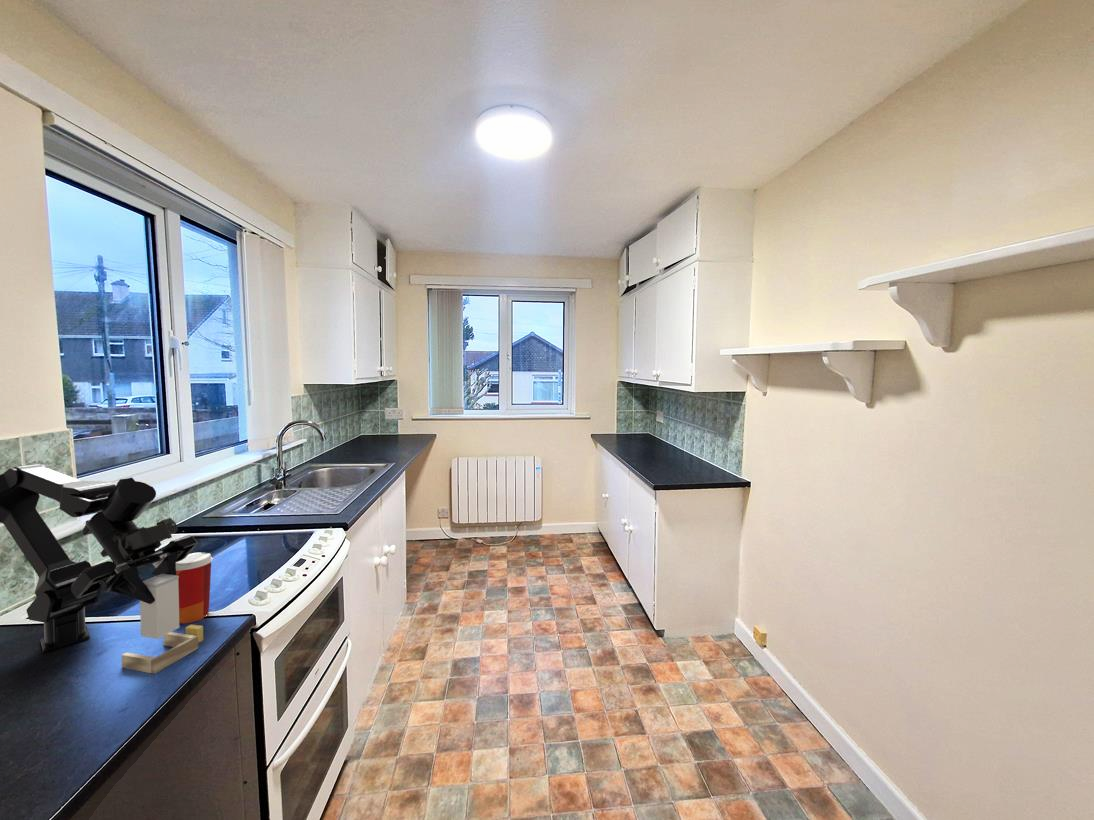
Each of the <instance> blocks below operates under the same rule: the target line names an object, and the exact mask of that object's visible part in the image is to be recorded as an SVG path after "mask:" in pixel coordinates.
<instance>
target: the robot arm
mask: <svg viewBox="0 0 1094 820" xmlns="http://www.w3.org/2000/svg"><path fill="white" fill-rule="evenodd" d="M40 495H41V496H43V497H46V498H49V499H52V500H54V501H56V502H58V503H59V510H60V511H62V512H63V513H65V514H67V515H68V516H70V517H73V518H80V517H84V516H89V515H93V516H92V517H91V518H90V519H88V520H86V521H85V525H84V527H83V529H82V535H84V536H87V535H90V534H91V535H92V536H93V537H94V538H95V540H96V541H97V542H98V543H99V545H100V546H101V547H102V551H100V556H102V558H104V557H109V559H111V561H109V560H107V561H104V562H101V563H98V564H94V565H91V563H90V562H89V561H87V560H86V559H85V560H82V561H79V562H76V561H73V560H71V558H70V557H69V555H68V554H67V552H66V551H65V550H64V548H63V547H62V545H61V544H60V543H59V540H58V539H57V538H56V536H55V534H53V532H52V531H51V529H50V527H49V526H48V525H47V523H46V522H45V520H44V519H43V517H42V516H41V514H40V513H39V511H38V510H37V506H38V503H39V501H40V497H41V496H40ZM156 496H157V491H156V490H155V487H154V486H152V485H150V484H147V482H146V483H145V482H142V481H136V480H135V479H134V478H133V477H130V476H129V477H126V478H119V480H118V481H117V483H116V484H115V483H113V482H108V481H103V480H96V481H95V480H89V481H88V480H87V481H85V480H80V479H78V478H76V477H72V476H70V475H67V474H65V473H61V472H59V471H56V470H54V469H51V468H49V467H48V466H47V465H45V464H41V463H34V464H26V465H20V466H19V465H17V466H13V467H12V468H8V469H6V470H5V471H4V472H3V473H2V474H0V523H1V524H3V526H5V528H6V530H7V531H8V532H9V535H10V536H11V538H12V540H14V542H15V544H16V545H17V546H18V548H19V549H20V551H21V552H22V554H23V555H24V557H25V558H26V560H27V561H28V563H29V564H30V566H31V568H32V570H34V572H35V573H36V575H37V577H38V581H37V584H36V587H35V590H34V594H35V597H36V598H34V600H33V601H31V603H30V605H29V606H28V607H27V608H26V613H27V616H28V620H29V621H33V622H38V623H39V622H40V623H43V633H44V634H43V635H44V637H42V638H41V639H40V644H41V649H42V653H44V652H45V653H46V652H49V651H52V650H55V649H59V648H62V647H66V646H68V645H71V644H75V643H78V642H81V641H85V640H88V639H90V638H91V634H90V631H89V629H88V627H87V625H86V607H88V606H91V605H95V604H97V603H98V602H99V598H100V593H101V591H102V586H103V585H102V584H103V582H104V583H105V585H106V587H105V588H104V589H103V592H104V593H109V592H112V593H116V594H119V595H124V596H127V597H129V598H133V599H135V600H138V601H139V602H140V601H143V602H146V603H148V604H152V603H153V602H154V601H155V599H154V597H153V595H152V593H151V592H150V591H149V589H148V588H147V587H146V585H145V584H144V583H143V581H144V580H142V579H141V578H140V576H139V575H140V574H139V570H138V569H141V568H143V567H146V566H149V565H153V566H154V568H155V569H154V570H153V571H152V572H151V574H152V575H153V577H155V576H157V575H160V574H169V575H177V574H176V562H178V561H181V560H183V559H184V558H186V557H187V555H188V554H191V552H192V551H193V550H194V549H195V547H196V546H197V545H198V544H199V543H198V541H197V540H196V539H195V537H194V536H193V535H186V536H181V537H179V538H175V539H172V540H170V541H169V543H168V544H167V545H166V546H165V547H164V548H163V549H162V550H158V551H156V549H160V547H161V545H162V543H161V542H163V541H165V540H168V539H171V538H172V535H173V534H175V533H177V532H178V529H179V528H178V525H177V523H176V521H175V520H174V519H172V518H171V517H169V518H164V519H161V520H160V521H158V522H156V525H153V526H148V527H144V526H143V527H138V526H137V525H136V524H135V522H134V521H135V520H137V519H139V518H140V517H141V515H143V513H144V512H145V511H146V509H147V508H148V507H149V506H150V505H151V503H152V502H153V501H154V499H156ZM178 590H179V586H178Z"/></svg>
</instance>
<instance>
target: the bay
mask: <svg viewBox="0 0 1094 820" xmlns="http://www.w3.org/2000/svg"><path fill="white" fill-rule="evenodd" d="M162 639H163V641H162V642H163V646H166V647H170V648H171V649H168V650H166V651H165V652H163V653H161V654H159V655H158V656H156V657H155V656H149V655H144V654H137V653H132V652H124V653H122V654H121V668H122V669H126V670H127V669H128V670H132V671H138V672H142V673H148V674H157V673H159V672H160V671H162V670H164V669H165V668H166V667H169V666H170V665H172V664H173V663H174V664H175V663H176V662H178V661H179V660H181V659H183V658H184V657H185V656H188V655H189V654H191V653H193V652H194V651H196V650H198V649H199V643H198V636H193V635H187V634H186V633H179V632H175V631H172V632H170V633H168V634H166V635H164V636H162Z"/></svg>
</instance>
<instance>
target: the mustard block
mask: <svg viewBox="0 0 1094 820" xmlns="http://www.w3.org/2000/svg"><path fill="white" fill-rule="evenodd" d="M185 634H187V635H193V636H198V644H199V643H201V642H202V641H204V626H203V625H199V624H198V625H197V624H194V623H193V624H192V623H191V624H189V625H187V626H185Z"/></svg>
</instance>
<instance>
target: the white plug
mask: <svg viewBox="0 0 1094 820" xmlns="http://www.w3.org/2000/svg"><path fill="white" fill-rule="evenodd" d="M178 579H179V576H177V575H169V574H160V575H157V576H153V577H150V578H146V579H144V580H142V581H143V583H144V584H145V585H146V587H147V588H148V589H149V591H150V592H151V593H152V595H153V597H154V599H155V601H154V602H153V603H152V604H148V603H146V602H143V601H140V600H139V610H140V612H139V613H140V619H139V620H140V636H141V637H144V638H145V637H146V638H151V639H157V640H158V639H160V638H163V636H164V635H166V634H168V633H170V632H175V630H177V629H180V623H179V590H178Z"/></svg>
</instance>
